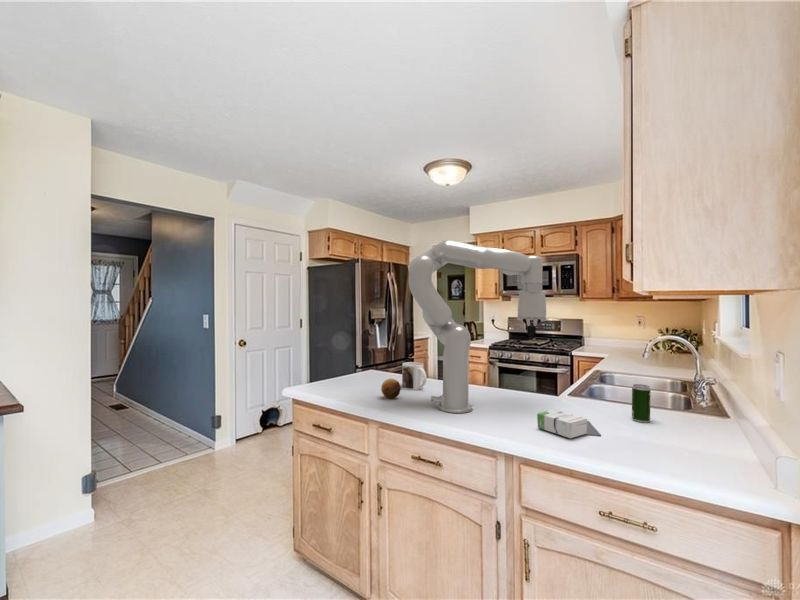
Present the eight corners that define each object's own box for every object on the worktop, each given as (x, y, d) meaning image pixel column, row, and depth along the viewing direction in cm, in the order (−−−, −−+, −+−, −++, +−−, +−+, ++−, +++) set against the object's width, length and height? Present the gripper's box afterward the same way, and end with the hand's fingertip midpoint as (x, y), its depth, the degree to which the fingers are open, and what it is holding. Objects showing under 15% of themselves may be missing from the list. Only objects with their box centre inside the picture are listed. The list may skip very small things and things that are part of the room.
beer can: (635, 422, 130) (635, 387, 130) (629, 417, 136) (629, 383, 136) (653, 423, 129) (653, 387, 129) (646, 418, 134) (646, 384, 134)
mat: (555, 432, 119) (555, 431, 119) (548, 419, 133) (548, 418, 133) (601, 436, 117) (601, 435, 117) (588, 422, 130) (588, 421, 130)
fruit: (404, 398, 159) (404, 378, 159) (389, 401, 153) (390, 381, 153) (391, 394, 165) (391, 376, 165) (377, 398, 159) (377, 378, 159)
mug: (423, 385, 184) (423, 362, 184) (426, 391, 172) (427, 366, 172) (401, 385, 183) (401, 362, 183) (403, 391, 171) (403, 366, 171)
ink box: (536, 428, 123) (570, 439, 113) (537, 412, 123) (570, 422, 113) (554, 423, 127) (588, 434, 117) (554, 408, 127) (588, 418, 117)
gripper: (512, 288, 146) (511, 336, 146) (554, 288, 143) (553, 337, 143) (510, 288, 154) (510, 334, 154) (550, 288, 151) (550, 335, 151)
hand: (531, 336), depth 148 cm, fingers closed
